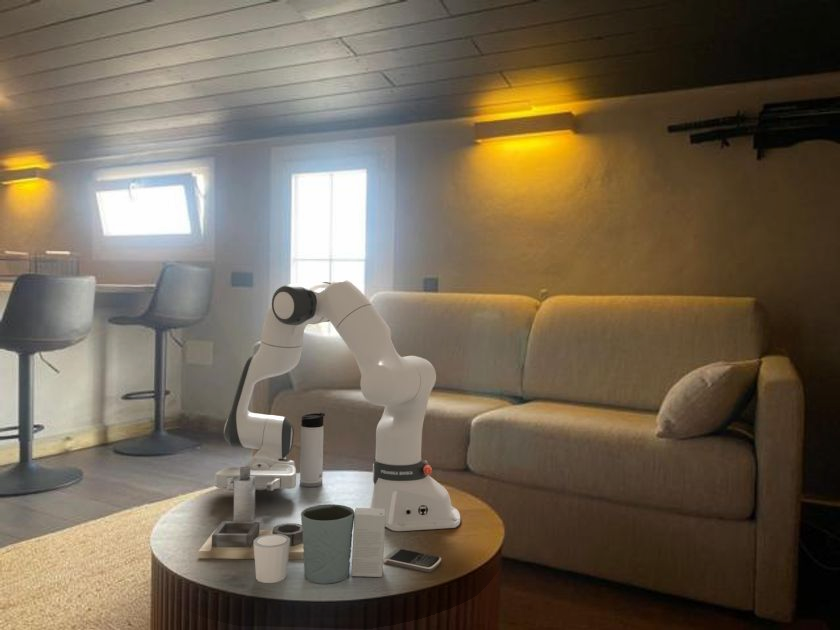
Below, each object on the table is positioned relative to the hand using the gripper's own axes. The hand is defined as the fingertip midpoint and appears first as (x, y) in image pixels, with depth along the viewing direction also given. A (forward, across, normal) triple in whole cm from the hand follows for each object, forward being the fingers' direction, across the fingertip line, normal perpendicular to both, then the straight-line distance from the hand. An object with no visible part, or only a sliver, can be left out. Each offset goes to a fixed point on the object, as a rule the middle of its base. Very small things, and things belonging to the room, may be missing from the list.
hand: (249, 487), depth 156 cm
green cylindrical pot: (+34, +22, +7) cm, 41 cm away
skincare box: (+33, +30, +7) cm, 45 cm away
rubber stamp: (+5, 0, +6) cm, 8 cm away
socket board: (+21, +7, +6) cm, 23 cm away
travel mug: (-25, +12, +7) cm, 29 cm away
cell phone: (+28, +39, +7) cm, 48 cm away
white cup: (+35, +12, +7) cm, 38 cm away
